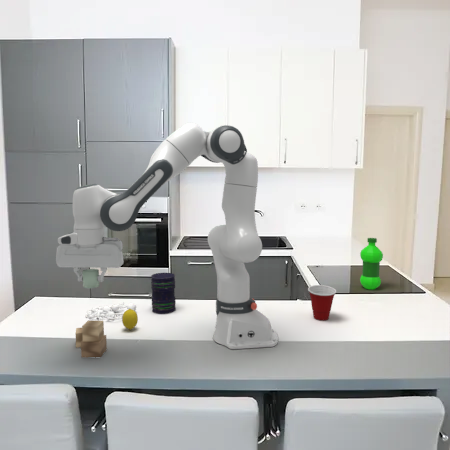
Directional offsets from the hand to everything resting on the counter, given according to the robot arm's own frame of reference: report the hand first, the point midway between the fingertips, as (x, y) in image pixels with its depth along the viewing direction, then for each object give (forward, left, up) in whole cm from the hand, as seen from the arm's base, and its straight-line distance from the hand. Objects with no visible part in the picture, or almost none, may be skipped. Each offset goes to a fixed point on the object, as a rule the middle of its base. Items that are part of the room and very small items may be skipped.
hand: (91, 281), depth 128 cm
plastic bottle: (-110, -79, -24) cm, 137 cm away
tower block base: (0, 0, -24) cm, 24 cm away
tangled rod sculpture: (+6, -34, -24) cm, 42 cm away
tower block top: (0, 0, -19) cm, 19 cm away
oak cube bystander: (+6, -7, -24) cm, 25 cm away
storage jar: (-14, -42, -24) cm, 50 cm away
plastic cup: (-78, -35, -24) cm, 89 cm away
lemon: (-6, -20, -24) cm, 32 cm away
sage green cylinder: (0, 0, -2) cm, 2 cm away
